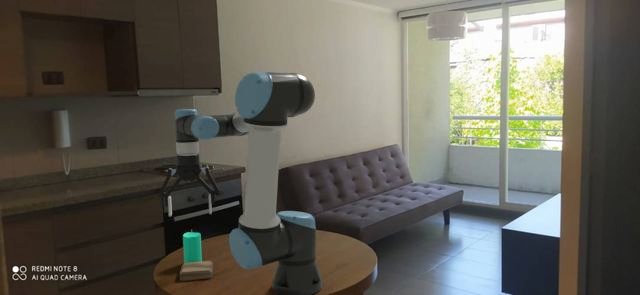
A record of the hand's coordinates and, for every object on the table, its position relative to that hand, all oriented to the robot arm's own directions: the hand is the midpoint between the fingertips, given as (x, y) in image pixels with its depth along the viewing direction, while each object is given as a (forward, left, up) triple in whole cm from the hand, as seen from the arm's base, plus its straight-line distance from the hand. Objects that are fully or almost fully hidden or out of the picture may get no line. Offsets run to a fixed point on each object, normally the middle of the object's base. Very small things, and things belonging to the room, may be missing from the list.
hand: (190, 214), depth 160 cm
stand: (-11, -2, -18) cm, 21 cm away
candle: (0, 0, -18) cm, 18 cm away
